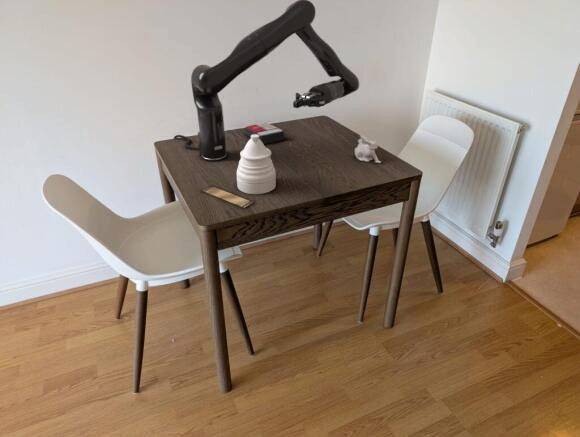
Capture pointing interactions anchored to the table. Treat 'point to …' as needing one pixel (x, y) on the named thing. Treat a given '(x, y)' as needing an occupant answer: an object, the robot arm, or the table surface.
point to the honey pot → (255, 168)
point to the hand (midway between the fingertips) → (295, 104)
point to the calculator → (265, 132)
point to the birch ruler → (228, 197)
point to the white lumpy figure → (366, 150)
